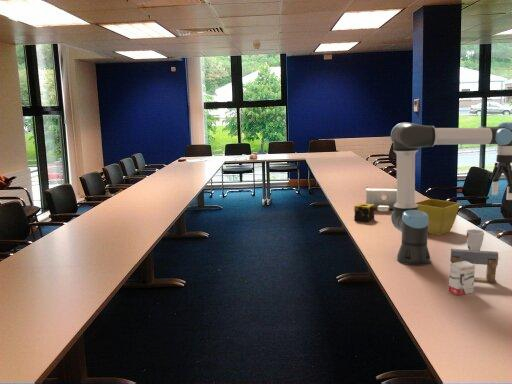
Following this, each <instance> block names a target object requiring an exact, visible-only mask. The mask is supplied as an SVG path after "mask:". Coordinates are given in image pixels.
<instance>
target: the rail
mask: <svg viewBox="0 0 512 384" xmlns="http://www.w3.org/2000/svg"><path fill="white" fill-rule="evenodd" d="M453 257H459V258H460V262H462V261H467V262H469V263H472V264H474V265H484V266H485V265H486V266H487V265H488V264H489V260H497V267H498V264H499V253H498V251H491V250H489V251H488V250H480V251H477V250H468V249H459V248H450V257H449V258H450V263H451V262H452V258H453Z"/></svg>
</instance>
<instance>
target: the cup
mask: <svg viewBox="0 0 512 384" xmlns="http://www.w3.org/2000/svg"><path fill="white" fill-rule="evenodd" d="M484 235H485V231H484V230H480V229H474V228H473V229H466V245H467V250H477V251H481V248H482V246H483V241H484Z"/></svg>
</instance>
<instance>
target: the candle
mask: <svg viewBox="0 0 512 384" xmlns="http://www.w3.org/2000/svg"><path fill="white" fill-rule="evenodd" d="M374 206H375V205H374V204H366V203H361V202H360V203H358V204H355V205H354V206H353V207H354V209H353V210H354V217H353V219H354V221H355V222H361V223H370V222H372V221H374V220H375V209H374Z"/></svg>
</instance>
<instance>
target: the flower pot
mask: <svg viewBox="0 0 512 384" xmlns="http://www.w3.org/2000/svg"><path fill="white" fill-rule="evenodd" d="M415 203H416V204H417V205H418V210H419V211H423V212H425V213H426V214H427V215H428V220H429V224H428V234H433V235H438V236H440V235H443V234H447V233H449V232H451V230H452V229H453V226H454V224H455V221H456V218H457V215H458V211H459V207H460V203H459V202H454V201H448V200H443V199H442V200H440V199H433V198H428V199H425V200H420V201H417V202H416V201H415Z"/></svg>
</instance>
